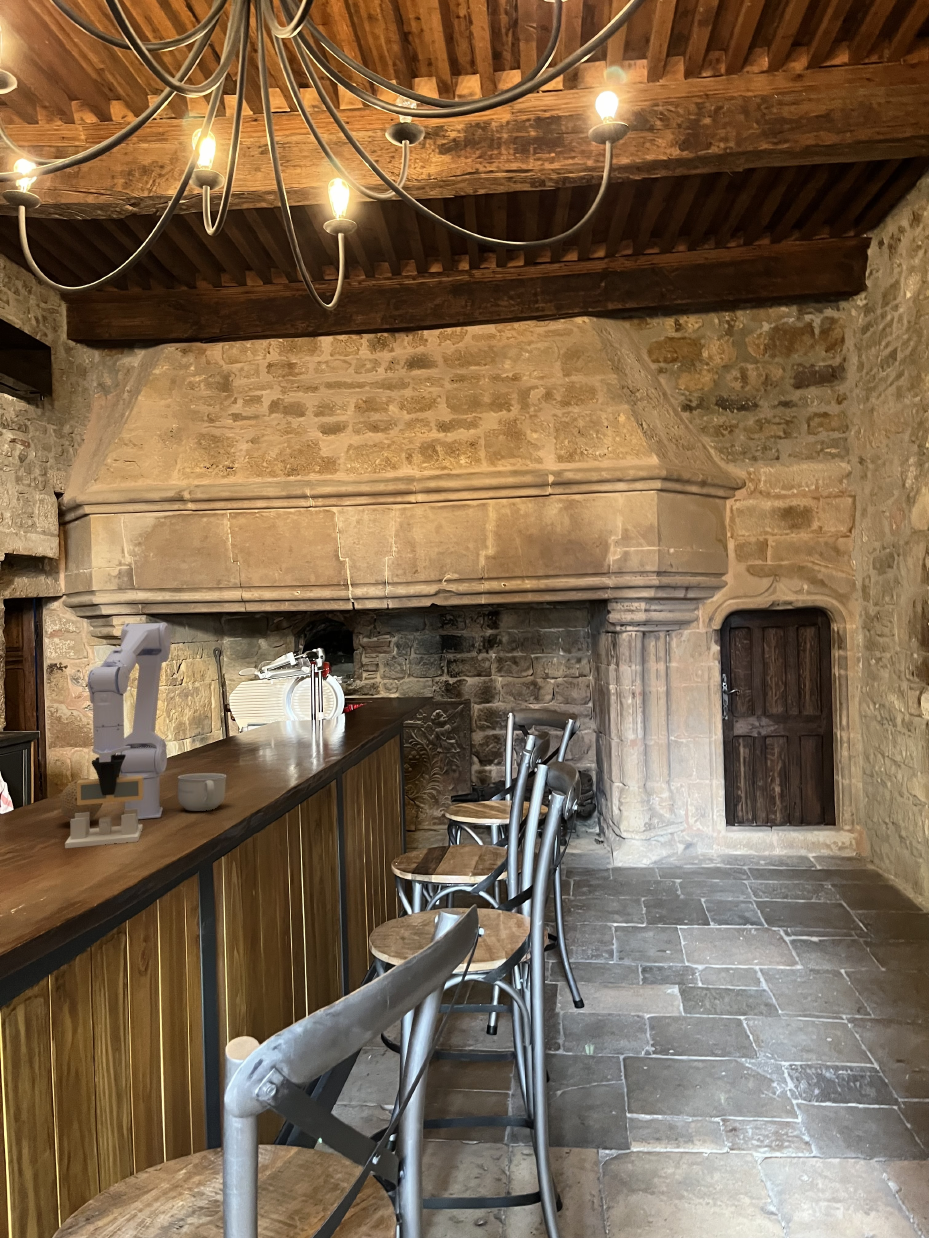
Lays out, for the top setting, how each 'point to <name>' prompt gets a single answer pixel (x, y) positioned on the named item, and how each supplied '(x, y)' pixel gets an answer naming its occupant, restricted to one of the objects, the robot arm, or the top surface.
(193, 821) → the top surface
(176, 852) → the top surface
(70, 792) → the natural sponge
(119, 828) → the display stand
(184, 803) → the teacup
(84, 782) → the wooden block with panels
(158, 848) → the top surface
